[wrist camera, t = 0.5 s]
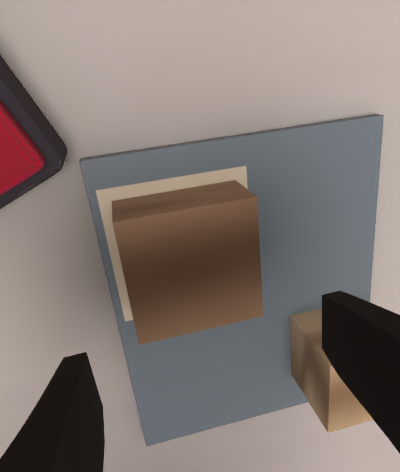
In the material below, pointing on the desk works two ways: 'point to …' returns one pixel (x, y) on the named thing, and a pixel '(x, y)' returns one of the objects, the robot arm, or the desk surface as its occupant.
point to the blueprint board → (271, 255)
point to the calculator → (24, 140)
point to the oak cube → (321, 375)
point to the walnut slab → (190, 258)
